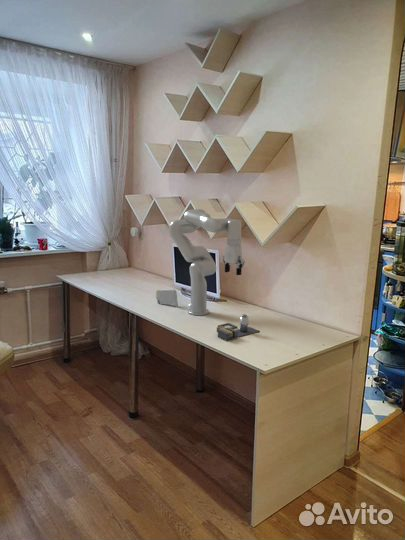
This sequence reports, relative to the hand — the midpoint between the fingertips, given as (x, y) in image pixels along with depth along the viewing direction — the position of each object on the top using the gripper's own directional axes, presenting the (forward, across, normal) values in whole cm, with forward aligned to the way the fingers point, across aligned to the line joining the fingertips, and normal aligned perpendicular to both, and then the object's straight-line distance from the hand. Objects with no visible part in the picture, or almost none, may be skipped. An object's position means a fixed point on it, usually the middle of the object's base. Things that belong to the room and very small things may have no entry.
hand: (232, 273), depth 225 cm
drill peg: (+28, +16, -5) cm, 32 cm away
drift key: (+27, +15, -18) cm, 36 cm away
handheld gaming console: (+29, -51, -11) cm, 59 cm away
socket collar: (+28, +5, -7) cm, 30 cm away
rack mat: (+28, +16, -5) cm, 33 cm away
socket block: (+28, +18, -18) cm, 38 cm away
